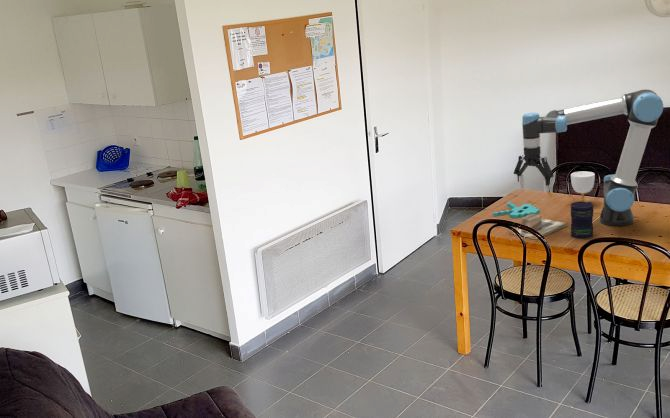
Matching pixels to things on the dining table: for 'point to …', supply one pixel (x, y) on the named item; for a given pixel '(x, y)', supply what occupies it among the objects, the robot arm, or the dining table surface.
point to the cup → (582, 182)
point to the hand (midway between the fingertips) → (533, 190)
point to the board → (543, 228)
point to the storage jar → (582, 220)
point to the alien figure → (518, 211)
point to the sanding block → (532, 221)
